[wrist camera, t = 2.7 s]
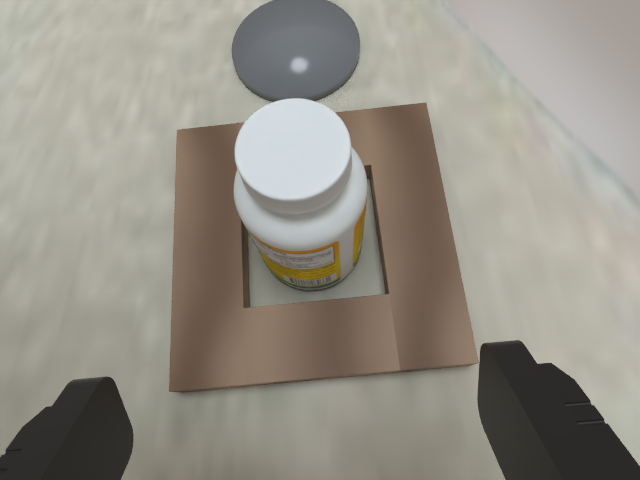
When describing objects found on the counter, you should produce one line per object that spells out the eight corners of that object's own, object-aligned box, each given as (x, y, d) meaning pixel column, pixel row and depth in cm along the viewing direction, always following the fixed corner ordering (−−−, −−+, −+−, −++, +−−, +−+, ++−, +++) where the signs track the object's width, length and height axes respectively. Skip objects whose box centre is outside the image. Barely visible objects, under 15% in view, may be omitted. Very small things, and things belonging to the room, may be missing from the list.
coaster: (235, 110, 27) (232, 104, 27) (232, 10, 30) (230, 3, 29) (366, 96, 27) (367, 89, 26) (352, -4, 30) (352, -11, 29)
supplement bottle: (308, 313, 23) (281, 254, 14) (242, 241, 24) (180, 146, 15) (383, 244, 24) (405, 147, 15) (316, 179, 25) (298, 56, 16)
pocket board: (180, 392, 22) (169, 391, 20) (186, 144, 27) (177, 129, 25) (470, 365, 21) (478, 362, 20) (422, 118, 26) (426, 102, 25)
